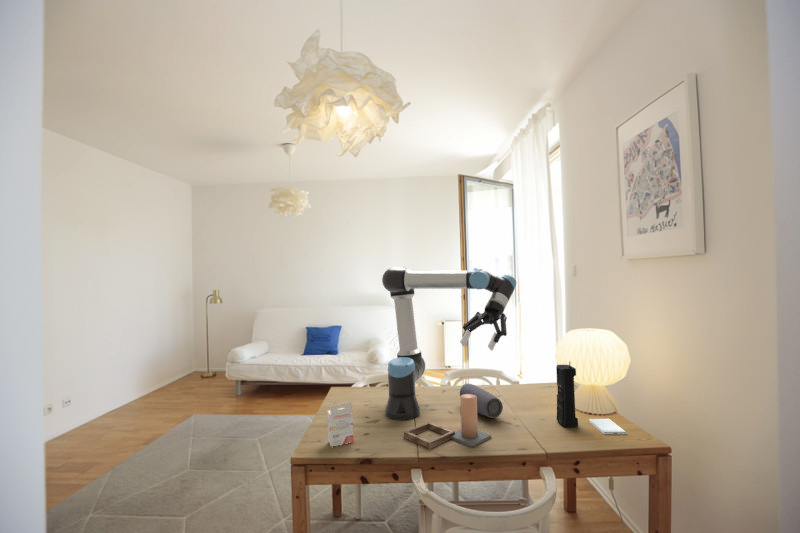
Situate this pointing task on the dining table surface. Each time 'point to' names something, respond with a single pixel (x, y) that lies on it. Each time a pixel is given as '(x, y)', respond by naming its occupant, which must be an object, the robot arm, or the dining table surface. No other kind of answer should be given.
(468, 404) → the salmon orange cylinder
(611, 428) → the hard drive
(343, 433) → the ink cartridge box
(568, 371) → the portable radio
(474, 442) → the charcoal mat
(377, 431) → the dining table surface
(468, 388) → the bluetooth speaker
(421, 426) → the walnut collar
